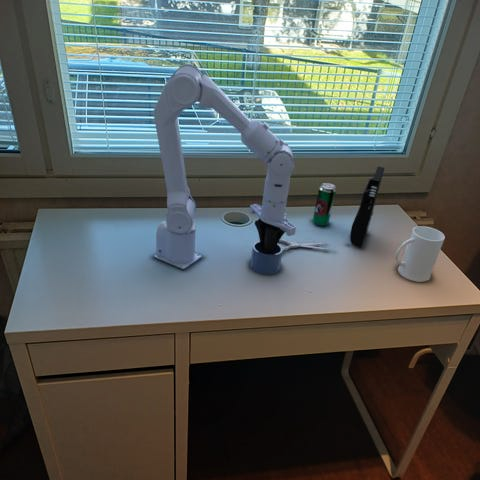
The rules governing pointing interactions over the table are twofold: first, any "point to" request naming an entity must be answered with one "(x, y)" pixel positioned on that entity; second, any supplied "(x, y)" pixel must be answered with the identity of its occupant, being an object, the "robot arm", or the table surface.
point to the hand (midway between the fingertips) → (267, 249)
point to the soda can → (324, 204)
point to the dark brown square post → (265, 245)
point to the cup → (265, 259)
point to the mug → (420, 253)
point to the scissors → (299, 245)
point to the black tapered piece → (366, 209)
